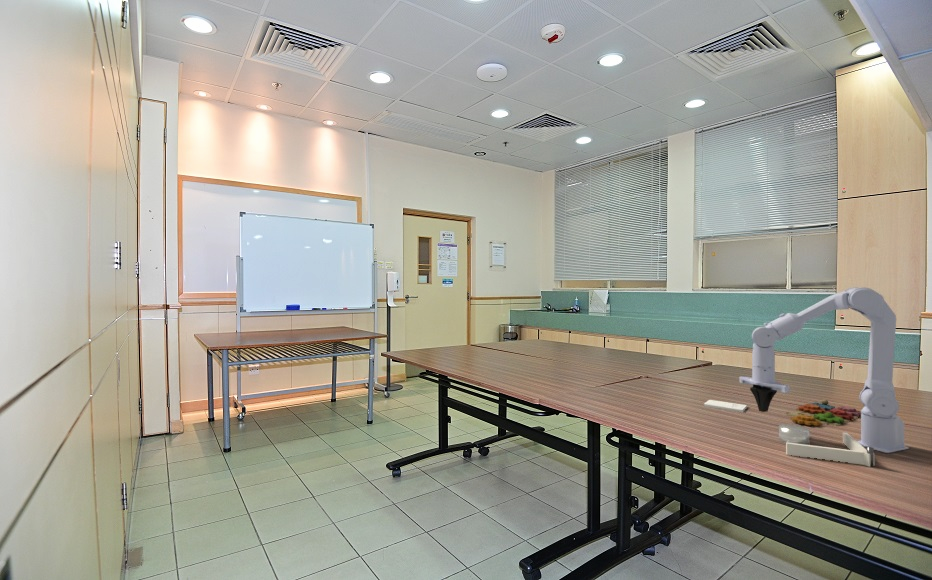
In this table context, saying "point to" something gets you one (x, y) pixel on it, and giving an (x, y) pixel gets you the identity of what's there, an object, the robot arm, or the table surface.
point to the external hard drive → (725, 405)
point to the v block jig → (835, 452)
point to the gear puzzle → (823, 414)
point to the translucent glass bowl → (794, 434)
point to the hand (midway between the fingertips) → (763, 411)
